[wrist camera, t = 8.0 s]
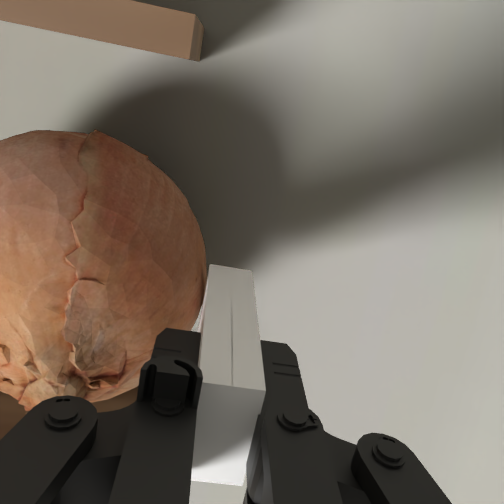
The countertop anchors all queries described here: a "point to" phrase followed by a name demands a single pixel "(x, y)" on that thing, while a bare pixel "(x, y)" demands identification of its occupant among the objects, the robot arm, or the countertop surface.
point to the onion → (89, 265)
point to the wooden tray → (117, 32)
